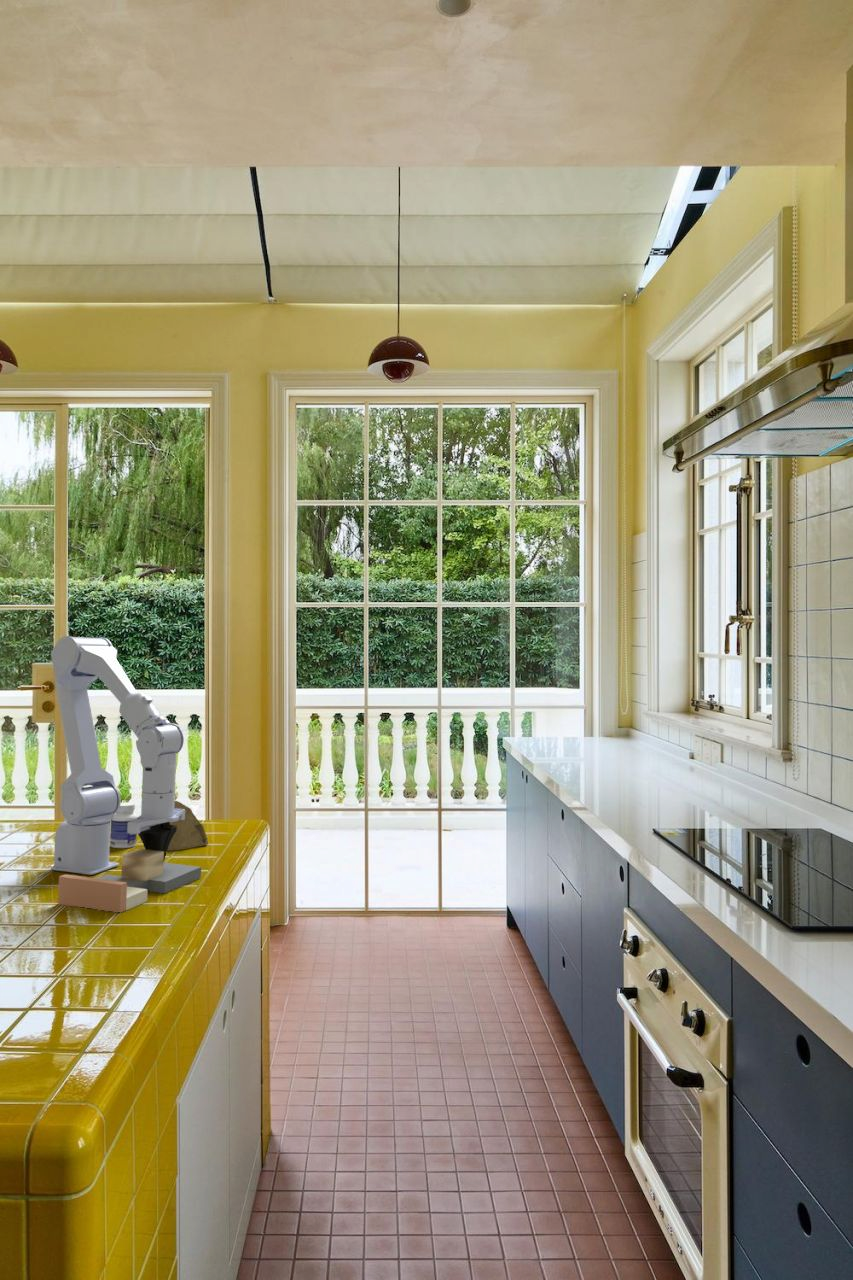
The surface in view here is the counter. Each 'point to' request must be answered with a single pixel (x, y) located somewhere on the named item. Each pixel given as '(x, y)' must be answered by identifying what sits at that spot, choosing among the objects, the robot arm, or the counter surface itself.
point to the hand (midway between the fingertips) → (155, 866)
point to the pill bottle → (123, 827)
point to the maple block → (142, 864)
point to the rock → (187, 831)
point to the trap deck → (121, 888)
